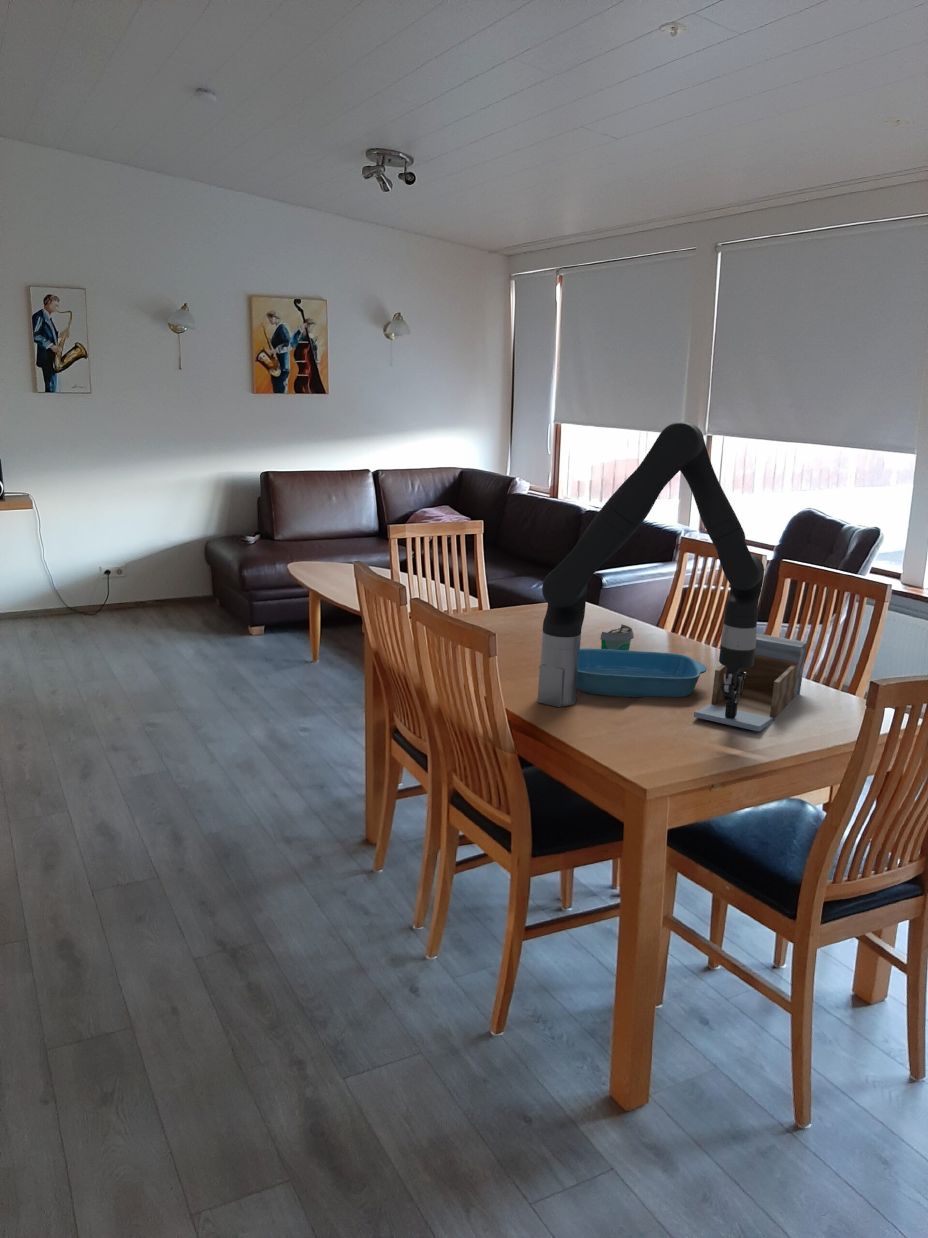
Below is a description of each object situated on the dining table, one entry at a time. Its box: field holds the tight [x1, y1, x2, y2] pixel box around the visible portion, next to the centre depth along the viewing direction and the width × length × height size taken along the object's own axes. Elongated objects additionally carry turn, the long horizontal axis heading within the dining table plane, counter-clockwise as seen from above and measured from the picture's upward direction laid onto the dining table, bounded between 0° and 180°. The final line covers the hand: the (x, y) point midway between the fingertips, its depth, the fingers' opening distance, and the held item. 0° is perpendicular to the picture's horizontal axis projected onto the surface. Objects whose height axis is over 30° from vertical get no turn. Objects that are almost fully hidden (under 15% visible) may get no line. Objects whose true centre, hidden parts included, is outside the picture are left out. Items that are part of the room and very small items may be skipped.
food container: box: [599, 624, 635, 651], centre depth 260 cm, size 12×6×10 cm, turn 143°
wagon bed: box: [710, 633, 808, 719], centre depth 233 cm, size 26×15×14 cm, turn 148°
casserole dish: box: [577, 648, 707, 699], centre depth 242 cm, size 37×22×7 cm, turn 85°
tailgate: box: [693, 703, 776, 732], centre depth 218 cm, size 1×16×13 cm
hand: (730, 717), depth 215 cm, fingers closed
